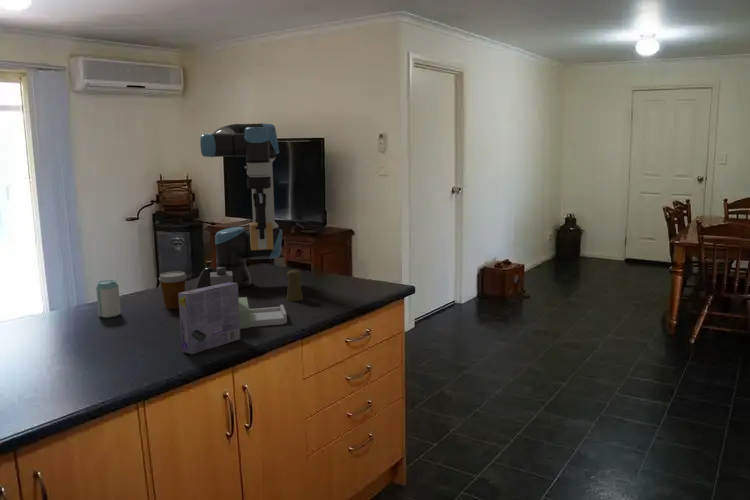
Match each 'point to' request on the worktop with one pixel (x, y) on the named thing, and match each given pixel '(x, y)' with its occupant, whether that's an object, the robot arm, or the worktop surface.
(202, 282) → the pump dispenser
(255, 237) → the cardboard box
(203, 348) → the cake pan box
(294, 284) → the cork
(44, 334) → the worktop surface
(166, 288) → the disposable coffee cup
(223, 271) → the pale green boxy piece
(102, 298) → the can
